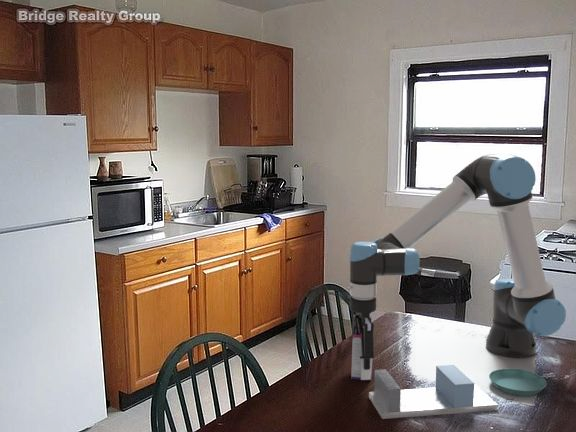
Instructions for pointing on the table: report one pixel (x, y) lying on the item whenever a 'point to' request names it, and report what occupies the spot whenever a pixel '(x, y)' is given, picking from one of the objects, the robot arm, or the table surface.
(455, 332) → the table surface
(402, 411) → the base
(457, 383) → the block
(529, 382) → the saucer
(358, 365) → the supplement box
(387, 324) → the table surface
